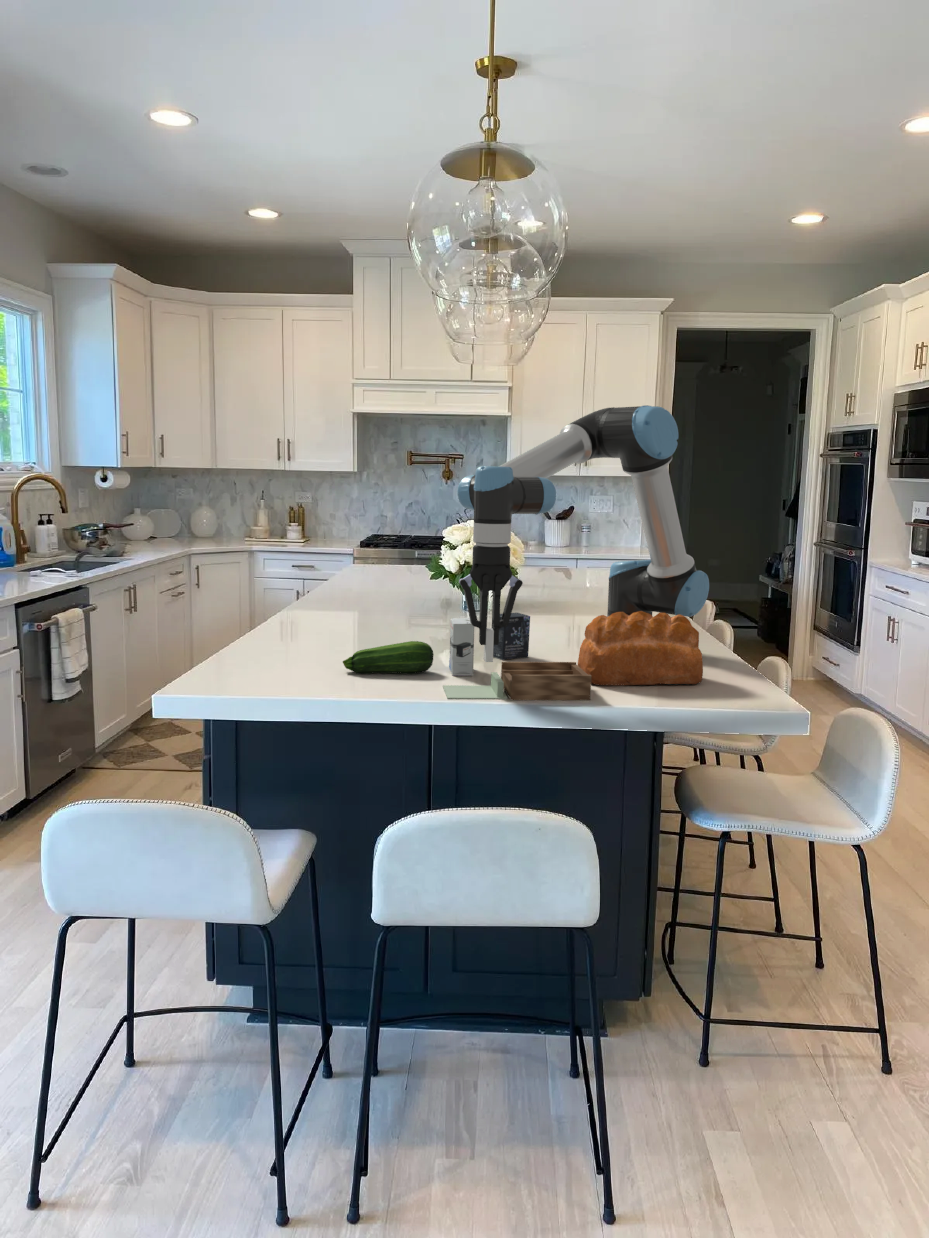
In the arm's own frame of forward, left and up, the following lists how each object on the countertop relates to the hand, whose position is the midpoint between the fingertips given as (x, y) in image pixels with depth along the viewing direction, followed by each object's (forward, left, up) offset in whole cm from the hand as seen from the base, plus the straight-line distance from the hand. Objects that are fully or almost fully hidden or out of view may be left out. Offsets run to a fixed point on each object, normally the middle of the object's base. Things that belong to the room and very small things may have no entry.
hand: (488, 660), depth 183 cm
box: (-11, -36, -7) cm, 38 cm away
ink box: (+3, -19, -7) cm, 20 cm away
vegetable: (+20, -18, -7) cm, 28 cm away
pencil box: (-12, 0, -7) cm, 14 cm away
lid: (+3, 0, -7) cm, 8 cm away
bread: (-36, -12, -7) cm, 38 cm away
